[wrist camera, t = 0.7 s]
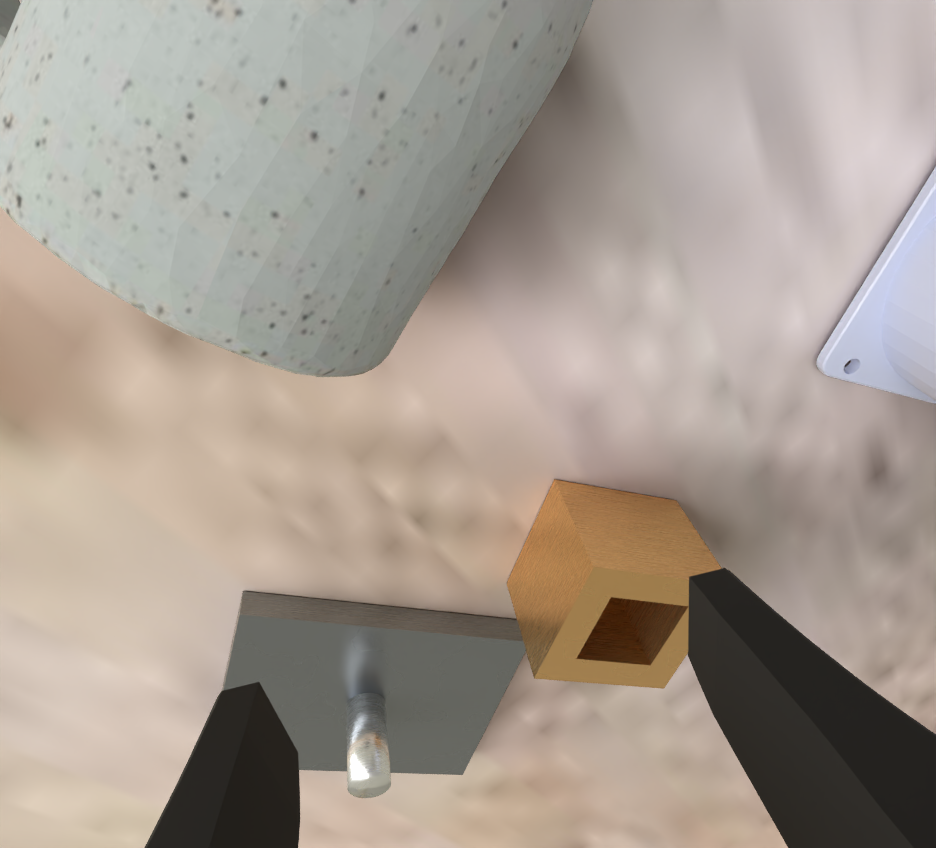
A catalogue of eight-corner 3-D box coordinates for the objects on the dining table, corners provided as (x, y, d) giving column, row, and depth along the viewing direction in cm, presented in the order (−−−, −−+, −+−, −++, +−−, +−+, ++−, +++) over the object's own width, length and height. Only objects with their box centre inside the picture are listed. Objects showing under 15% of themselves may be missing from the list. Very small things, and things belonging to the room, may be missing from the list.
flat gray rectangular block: (523, 620, 25) (552, 716, 22) (459, 752, 29) (474, 851, 26) (242, 591, 22) (226, 696, 19) (211, 742, 26) (192, 852, 23)
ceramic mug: (563, -25, 15) (735, -50, 8) (372, 289, 18) (386, 455, 11) (32, -494, 10) (-490, -1319, 4) (-102, 23, 13) (-525, 40, 7)
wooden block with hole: (676, 500, 23) (733, 585, 20) (620, 597, 25) (663, 688, 22) (554, 479, 22) (593, 566, 19) (506, 583, 24) (534, 678, 21)
